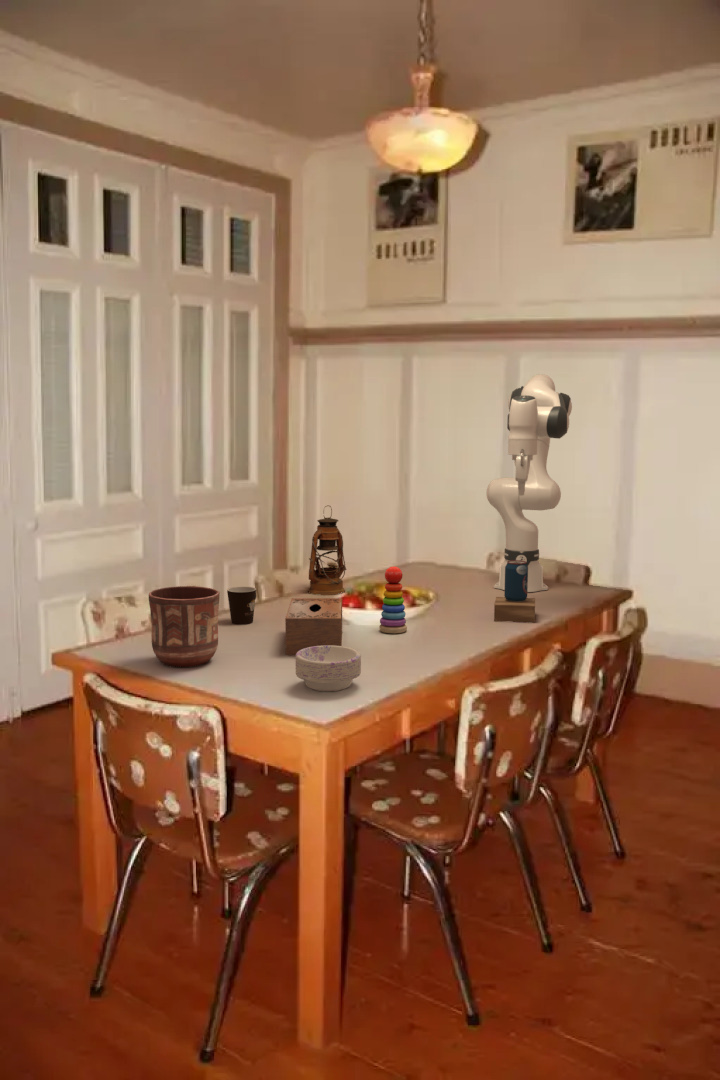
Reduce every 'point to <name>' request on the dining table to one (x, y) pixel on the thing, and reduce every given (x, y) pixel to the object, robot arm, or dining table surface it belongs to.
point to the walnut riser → (514, 610)
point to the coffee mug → (241, 604)
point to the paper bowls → (328, 667)
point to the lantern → (328, 537)
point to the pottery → (184, 625)
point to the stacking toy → (393, 603)
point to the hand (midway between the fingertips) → (521, 493)
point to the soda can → (516, 581)
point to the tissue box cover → (313, 623)
